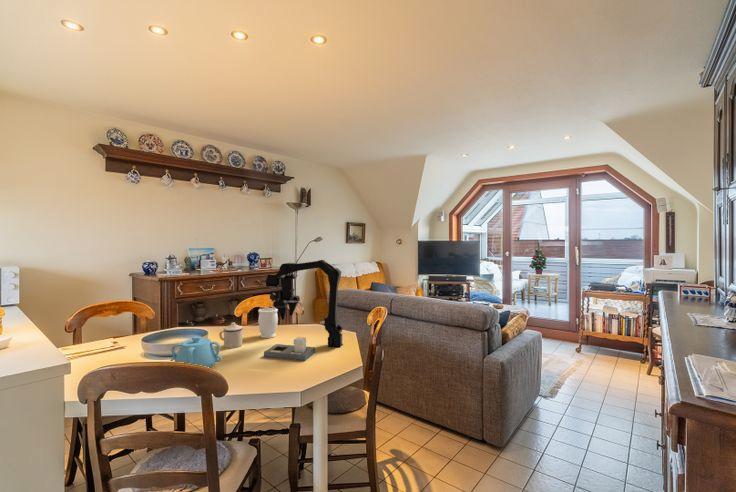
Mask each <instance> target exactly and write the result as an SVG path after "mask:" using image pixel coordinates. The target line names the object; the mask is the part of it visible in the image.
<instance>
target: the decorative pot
mask: <svg viewBox="0 0 736 492" xmlns="http://www.w3.org/2000/svg"><path fill="white" fill-rule="evenodd" d="M214 345H215V346H216V347H217V350H216V348H215V347H214ZM177 347H179V349H178V351H177V353H176V352H175V348H177ZM170 350H171V351H170V352H171V354H172V357H173V358H171V359H170V361H173V362H184V363H191V364H197V365H202V366H206V367H209V368H210V369H211V368H213V366H214V365H215V363H220V362H221V361H222V356H221V355H219V354H220V352H221V344H220V343H219V342H218V341H211V340H210V338H205V337H201V336H200V335H197V336H196V335H195V336H192V337H191V339H190V338H189V339H187V340H184V341H183V342H181V343H180V342H178V343H175V344H173V345H172V347H171V349H170ZM170 361H169V362H170Z"/></svg>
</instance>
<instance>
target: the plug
mask: <svg viewBox="0 0 736 492" xmlns="http://www.w3.org/2000/svg"><path fill="white" fill-rule="evenodd" d="M293 345H294V352H301V353H304V352H305V351H306V347H307V337H304V336H303V337H302V336H298V337H296V338H294V339H293Z"/></svg>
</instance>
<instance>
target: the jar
mask: <svg viewBox="0 0 736 492" xmlns="http://www.w3.org/2000/svg"><path fill="white" fill-rule="evenodd" d="M278 312H279V310H278V309H277V308H275V307H266V308H265V307H264V308H260V309H258V313H259V314H258V329H259V332H260V338H262V339H270V338H275V337H276V336H277V334H276V332H277V329H278V321H279V317H278V316H279V315H278Z"/></svg>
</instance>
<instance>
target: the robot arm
mask: <svg viewBox="0 0 736 492" xmlns="http://www.w3.org/2000/svg"><path fill="white" fill-rule="evenodd" d="M314 269H320V270H321V271H322V272H323V273H324V274H326V275H327V279H328V280H327V281H328V285H329V294H328V295H329V299H328V315H326V316H324V319H323V320H324V322H323V323H324V324H323V327H324V329H325V330H326V332H327V333H328V337H327V348H339V349H340V348H342V346H344V343H343V333H342V332H343V327H342V326H341V325H340V324H339V317H338V313H337V312H338V311H337V310H338V294H339V291H338V290H339V285H340V281H341V278H342V271H341V269H339V268H337V267H334V266H333V265H332V264H329V263H328V262H327V261H326V260H324V259H319V260H314V261H307V262H300V263H299V262H298V263H296V262H286V263H282V264H281V265H280V266H279V270H278V271H277V273H276V274H273V273H268V274H267V277H266V280H265V286H266V288H279V287H280V288H281V289H279V290H278V293H275V292H272V293H270V294H269V300H271V302H272V306H273V308H276V309H278V312H279V316H280V318H281V320H282V321H283V320H285V317H286V314H287V311H288V309H289V316H290V317H292V316H293V315H294V312H295V309H296V307H297V305H298V304H299V302H300V300H301V299H300V298H301V297H300V296H299V295H296V294H295V295H293V292H294V291H295V288H293V285H294V284H293V280H295V279H297V276H296V275H295V274H294V273H296V272H299V271H305V270H307V271H308V270H314ZM289 274H290V275H289Z"/></svg>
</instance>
